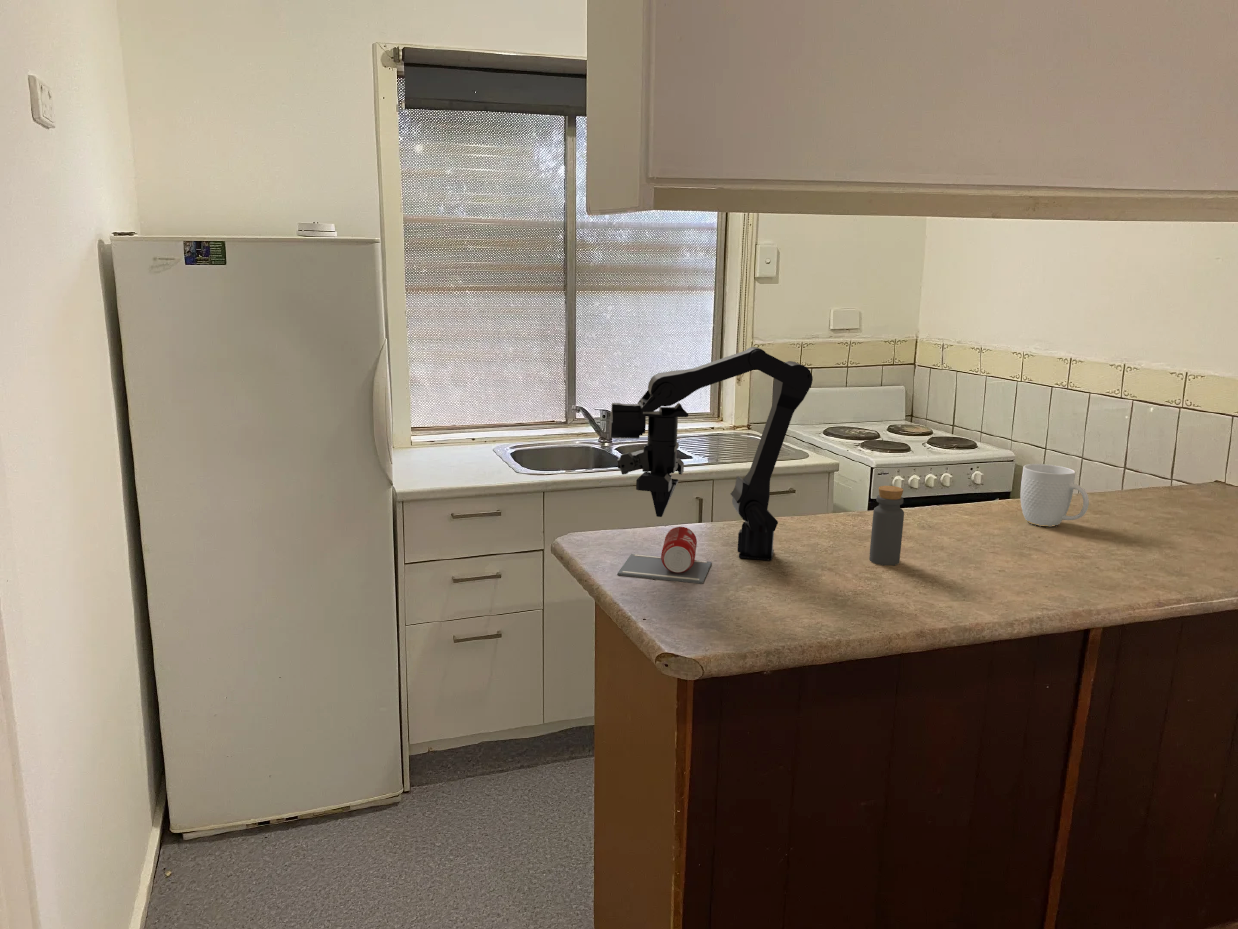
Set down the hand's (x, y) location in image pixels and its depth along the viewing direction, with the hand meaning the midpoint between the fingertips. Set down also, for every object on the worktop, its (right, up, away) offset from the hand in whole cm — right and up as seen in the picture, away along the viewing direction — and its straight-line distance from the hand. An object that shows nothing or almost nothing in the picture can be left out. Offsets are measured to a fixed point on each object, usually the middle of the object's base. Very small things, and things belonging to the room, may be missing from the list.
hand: (659, 516), depth 185 cm
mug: (+91, -4, +32) cm, 96 cm away
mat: (+1, -10, -7) cm, 12 cm away
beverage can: (+4, -5, 0) cm, 6 cm away
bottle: (+45, -9, +2) cm, 46 cm away
